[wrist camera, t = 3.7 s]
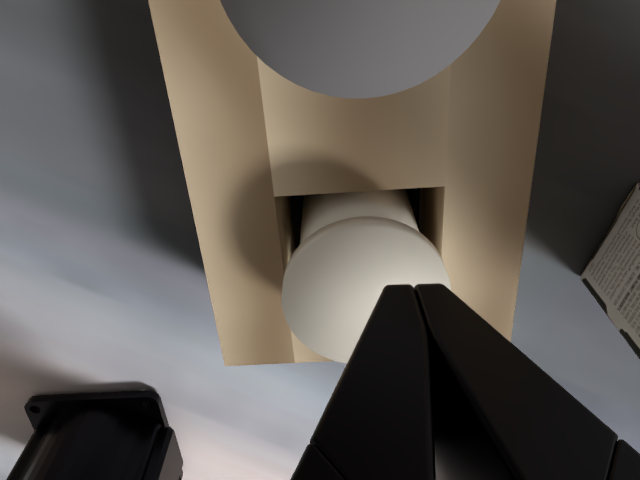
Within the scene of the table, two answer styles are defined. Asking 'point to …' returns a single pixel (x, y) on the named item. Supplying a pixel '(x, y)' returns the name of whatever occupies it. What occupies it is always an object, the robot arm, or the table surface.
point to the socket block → (351, 162)
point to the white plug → (352, 265)
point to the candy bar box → (619, 271)
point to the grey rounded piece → (358, 40)
